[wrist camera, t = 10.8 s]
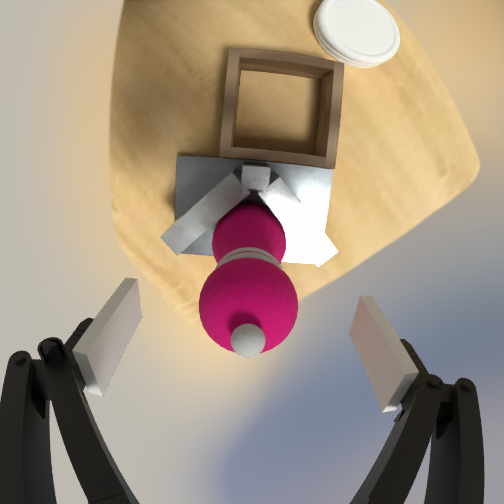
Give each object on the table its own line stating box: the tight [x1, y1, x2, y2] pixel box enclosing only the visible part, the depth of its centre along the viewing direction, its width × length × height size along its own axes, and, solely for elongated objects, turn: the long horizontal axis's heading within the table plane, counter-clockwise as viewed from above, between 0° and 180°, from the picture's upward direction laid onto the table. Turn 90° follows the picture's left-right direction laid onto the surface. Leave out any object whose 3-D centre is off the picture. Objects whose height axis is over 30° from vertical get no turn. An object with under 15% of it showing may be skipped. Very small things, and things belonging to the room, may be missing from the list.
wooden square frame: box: [219, 48, 344, 169], centre depth 26 cm, size 11×11×5 cm
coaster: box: [313, 0, 400, 68], centre depth 23 cm, size 10×10×4 cm
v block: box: [160, 156, 338, 266], centre depth 29 cm, size 17×11×7 cm, turn 85°
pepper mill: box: [199, 202, 298, 357], centre depth 23 cm, size 7×7×20 cm
